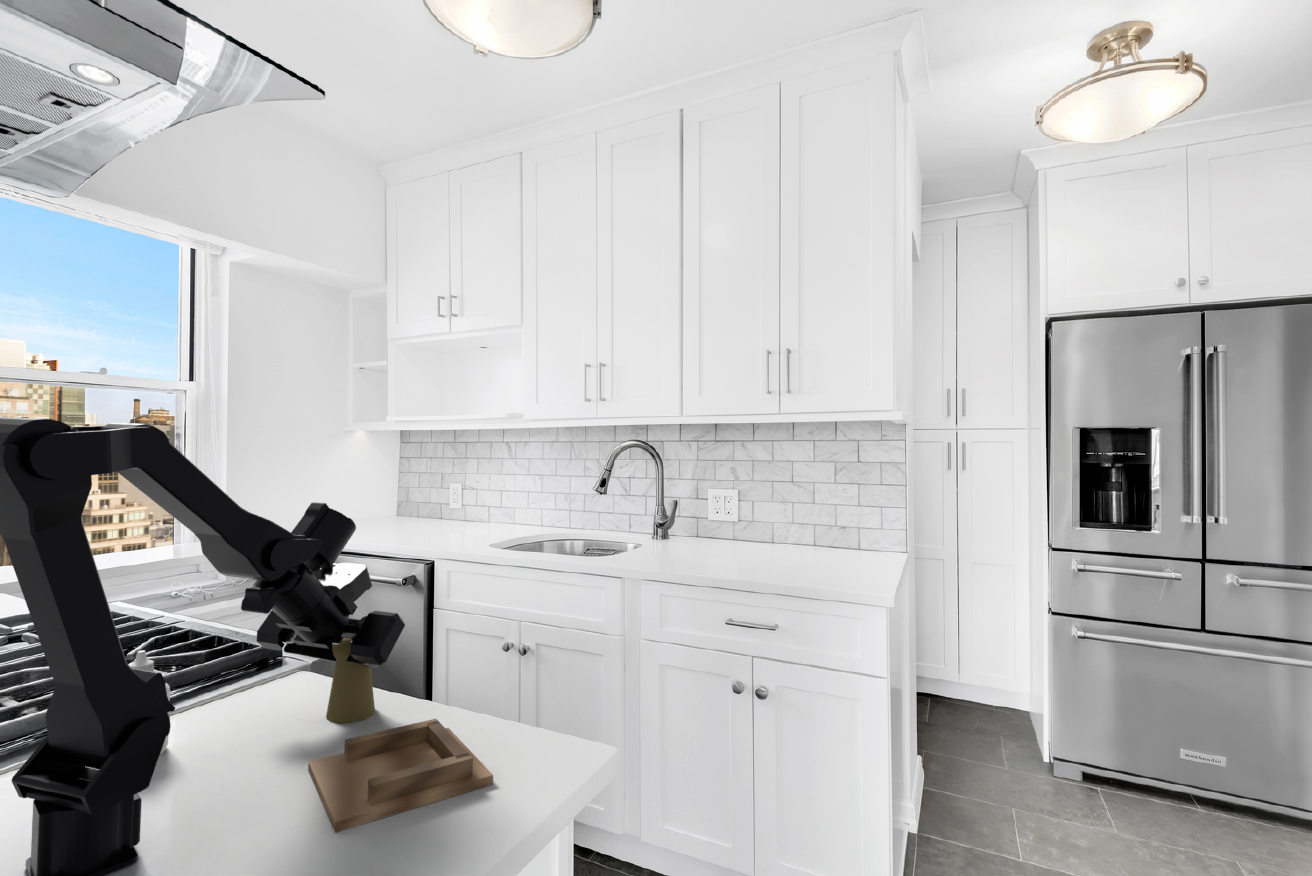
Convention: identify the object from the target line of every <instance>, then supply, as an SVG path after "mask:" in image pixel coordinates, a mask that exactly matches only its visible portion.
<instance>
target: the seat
mask: <svg viewBox="0 0 1312 876" xmlns="http://www.w3.org/2000/svg"><path fill="white" fill-rule="evenodd" d="M343 751H344V752H342V753H337V754H334V755H329V756H326V757H322V758H318V759H314V760H309V761H308V763H307V771H308V773H309V775H310V778H311V780H312V782H313V785H314V787H315V789H316V792H317V794H318V796H319V799H320V801H321V803H322V806H323V808H324V810H325V812H326V815H327V818H328V819H329V820H328V821H329V822H330V824H331V827H332V829H333V831H334V833H338V832H342V831H345V830H347V829H351V828H355V827H357V826H361V825H364V824H367V823H370V822H373V821H374V822H375V821H377V820H381V819H383V818H387V817H390V816H394V815H396V814H400V813H403V812H407V811H410V810H412V809H413V810H414V809H416V808H419V807H422V806H426V805H428V804H432V803H436V802H438V801H442V800H446V799H448V798H452V797H455V796H458V795H462V794H465V793H468V792H473V791H474V790H478V789H482V788H484V787H487V786H490V785H493V784H494V774H493V773H492V772H491V771H490V770H489V769H488V768H487V767H486V766H485V765H484V763H482V761H481V760H480V759H479V758H478V757H477V756H476V755H475V754H474V753H473V752H472V751H471V750H470V749H469V748H468V747H467V745H465V743H463V741H462V740H461V739H460V738H459V737H458V735H456V734H455V733H454V732H453V731H452V730H451V729H450V727H445V726H444V725H443V724H442V723H441V722H440V721H439V720H438V719H437V718H432V719H428V720H424V721H419V722H415V723H410V724H406V725H402V726H398V727H394V728H389V729H385V730H380V731H379V730H378V731H376V732H372V733H366V734H363V735H358V736H354V737H350V738H345V739H344V750H343Z"/></svg>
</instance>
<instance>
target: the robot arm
mask: <svg viewBox="0 0 1312 876" xmlns="http://www.w3.org/2000/svg"><path fill="white" fill-rule="evenodd" d="M112 473H118V474H119V475H120V476H122V477H123V478H125V480H127V481H128V482H129V483H131V485H133V486H134V487H135V488H137V489H138V490H139V491H141V492H142V493H143V494H144V495H145V496H147V497H148V498H149V499H150V500H152V501H153V502H154V503H156V504H157V505H158V506H159V507H160V508H162V510H164V511H165V512H167V513H168V514H169V515H171V517H173V518H174V519H176V520H177V521H178V522H180V524H182V525H183V526H184V527H186V529H188V530H189V531H190V532H192V533H193V534H194V535H195V536H196V538H197V539H198V540H199V542H200V547H201V552H202V554H203V556H204V557H205V558H206V559H207V560H208V562H209V563H210V564H211V565H212V566H213V568H214V569H215V570H216V571H217V572H218V573H219V574H220V575H223V576H225V577H233V578H241V579H242V578H243V579H249V580H251V579H252V580H255V581H254V583H253V584H252V585H251V587H246V588H245V590H244V597H243V599H242V601H241V604H240V610H241V611H243V612H249V613H257V614H265V615H267V614H268V615H267V617H265V619H264V621H263V622H262V623H261V625H260V626H259V627H258V630H256V642H257V643H258V644H259V645H260V646H261V647H262V648H263V649H266V650H267V649H268V650H273V651H279V652H280V651H282V650H283V652H284V653H286V654H291V655H298V656H302V657H303V656H304V657H308V658H314V659H317V660H318V659H320V660H324V661H327V662H328V661H329V662H335V663H336V658H335V656H334V655H333V651H332V645H333V644H337V645H339V644H340V643H341V642H342V640H343V638H349V639H351V642H352V643H351V651H350V655H349V656H348V658H347V660H346V661H347V662H351V663H356V664H360V665H365V666H369V667H371V668H375V669H378V668H379V666H381V665H383V664H384V663H386V662H387V661H388V658H389V657H390V655H391V653H392V651H393V650H394V647H395V645H396V643H397V641H398V640H399V638H400V636H401V634H402V632H403V631H404V628H405V626H406V624H405V621H404V619H403V618H402V617H401V615H400V614H399V613H396V612H389V611H381V610H380V611H379V610H373V611H371V612H368V614H367V615H365V616H363V617H362V618H360V619H356V618H355V619H354V618H349V617H350V616H353V615H354V614H355V612H356V610H357V609H358V606H357V604H356V603H355V602H356V601H357V600H358V599H360V598H361V597H362V595H364V593H366V592H367V591H369V590H370V589H371V588H372V587H373V584H372V583H373V582H372V580H371V577H370V573H369V569H368V566H367V565H366V564H364V563H363V564H362V563H353V562H339V563H336V561H337V559H338V557H340V555H341V553H342V552H343V550H344V548H346V546H347V544H348V542H350V540H351V538H352V536H353V535H354V533H355V532H356V530H357V526H356V524H355V522H354V520H353V519H352V518H351V517H347V516H346V515H344V514H343V513H341V512H340V511H338V510H335V509H333V508H330V507H329V505H328V504H327V502H326V503H325V502H316V501H314V502H313V501H312V502H311V503H310V504H309V505H308V506H307V508H306V510H305V512H304V515H303V516H302V517H301V518H300V520H299V521H298V523H297V524H295V527H294V528H293V529H292V530H291V531H289V530H287V529H286V528H284V527H282V526H281V525H279V524H278V523H275V521H272V520H270V519H268V518H265V517H264V516H260V515H257V514H254V513H252V512H250V511H248V510H246V509H244V508H243V507H241V506H240V505H239V504H238V503H237V502H236V501H234V500H233V499H232V498H231V497H230V495H228V494H227V493H226V492H224V490H222V489H221V487H219V486H218V485H217V484H216V483H215V482H213V481H212V480H211V478H209V477H208V476H207V475H206V474H205V473H204V472H203V471H202V470H200V469H199V467H197V466H196V465H195V464H194V463H193V462H192V461H191V460H189V458H187V457H186V456H185V454H183V453H182V452H181V451H180V450H179V449H177V447H175V445H173V444H172V443H171V442H170V440H169V437H168V435H166V433H165V432H164V431H163V430H161V429H159V428H158V427H156V426H154V425H153V424H147V423H129V422H127V423H125V422H113V423H108V424H105V425H90V426H84V425H83V426H71V425H69V424H68V423H65V422H63V421H61V420H57V419H51V418H41V417H40V418H38V417H36V418H35V417H16V416H15V417H14V416H13V417H12V416H9V417H7V416H0V536H1V537H2V539H3V542H4V545H5V548H6V551H7V553H8V556H9V560H10V562H11V564H12V565H11V566H12V567H13V570H14V574H15V576H16V579H17V581H18V584H19V587H20V590H21V592H22V596H23V598H24V601H25V603H26V607H27V609H28V612H29V615H30V617H31V620H32V623H33V626H34V629H35V632H36V634H37V638H38V640H39V643H40V646H41V648H42V651H43V655H44V658H45V659H46V662H47V665H48V668H49V671H50V674H51V676H52V679H53V684H54V690H53V692H52V695H51V698H50V701H49V704H48V707H47V709H46V711H45V723H46V731H47V736H46V737H45V739H43V740H42V741H41V743H40V744H39V745H38V747H36V748H35V750H34V751H33V753H32V754H31V755H30V756H29V757H28V758H27V760H26V761H24V763H23V764H22V766H21V767H19V769H18V770H17V771H16V773H15V774H14V775H13V776H12V778H11V784H12V785H13V787H14V789H15V792H16V793H17V796H18V797H19V798H21V799H27V798H28V799H32V818H31V819H32V821H31V843H30V845H31V847H30V857H28V858H27V859H26V860H25V868H26V871H27V874H28V876H103V875H105V874H109V873H111V872H113V871H116V870H119V869H121V868H125V867H127V866H129V865H131V864H135V863H136V862H137V861H138V859H139V856H138V855H139V854H138V853H137V851H136V848H135V846H138V844H139V843H140V840H141V821H142V801H143V800H142V798H141V797H140V795H139V793H140V792H142V791H145V790H147V789H148V788H149V787H150V784H151V781H152V778H153V775H154V772H155V769H156V766H157V763H158V760H159V758H160V755H161V754H160V752H161V750H162V747H163V744H164V741H165V738H166V736H168V737H169V736H170V735H169V734H170V732H171V727H172V726H171V716H170V713H171V712H174V711H175V710H176V707H175V706H174V705H173V704H172V703H171V702H169V700H168V698H167V693H166V684H165V683H166V680H165V678H164V676H163V674H162V672H157V671H154V672H153V671H147V670H140V669H134V668H130V667H129V665H128V664H129V663H128V662H127V659H126V656H125V653H124V650H123V649H124V648H123V647H122V646H123V645H122V643H121V640H120V636H119V634H118V631H117V628H116V625H115V621H114V619H113V615H112V611H111V609H110V608H111V607H110V606H109V601H108V599H107V596H106V593H105V589H104V587H103V583H102V580H101V576H100V573H99V570H98V567H97V564H96V561H95V558H94V555H93V552H92V549H91V545H90V543H89V539H88V536H87V533H86V529H85V526H84V522H83V513H84V510H85V508H86V504H87V502H88V499H89V496H90V493H91V491H92V487H93V480H92V476H96V475H106V474H112ZM168 712H169V714H168Z"/></svg>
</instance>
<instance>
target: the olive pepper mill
mask: <svg viewBox="0 0 1312 876" xmlns="http://www.w3.org/2000/svg"><path fill="white" fill-rule="evenodd" d="M351 643H352V642H351V639H349V638H343V640H342V642H341V643H340V644H339V645H337V644H333V645H332V651H333V655H334V656H335V658H336V662H335V666H334V670H333V675H332V676H333V677H332V682H331V688H330V693H329V698H328V703H327V708H326V709H327V710H326V715H325V717H326V720H328V721H329V722H331V723H335V724H351V723H357V722H359V721H363V720H366V719H368V718H370V717H372V716H373V715H374V714H375V711H376V707H375V697H374V688H373V677H372V667H369V666H365V665H360V664H356V663H351V662H347V661H346V660H347V658H348V656H349V655H350V651H351Z"/></svg>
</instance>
